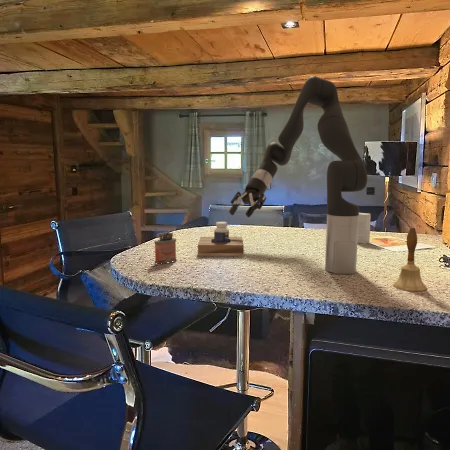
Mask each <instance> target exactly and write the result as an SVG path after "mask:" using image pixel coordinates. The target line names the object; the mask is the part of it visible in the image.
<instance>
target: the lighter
mask: <svg viewBox="0 0 450 450" xmlns="http://www.w3.org/2000/svg"><path fill="white" fill-rule="evenodd" d="M173 236H174V233H173V232H167V231H164V232H162V233H157V234H156V238H157V240H154V243H153V244H154V253H155V254H154V255H155V256H154V259H155V260H154V264H155V263H157V264H161V263H167V262H172V261H175V262H177V253H176V251H177V250H176V249H177V247H176V246H177V245H176V242H177V238H173ZM172 263H173V262H172ZM167 264H168V263H167ZM161 265H162V264H161Z"/></svg>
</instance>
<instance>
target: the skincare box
mask: <svg viewBox="0 0 450 450" xmlns="http://www.w3.org/2000/svg"><path fill="white" fill-rule="evenodd" d="M371 215H372V213H364V212H359V222H358V242H357V244H363V245H365V244H369V243H370V241H371Z"/></svg>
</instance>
